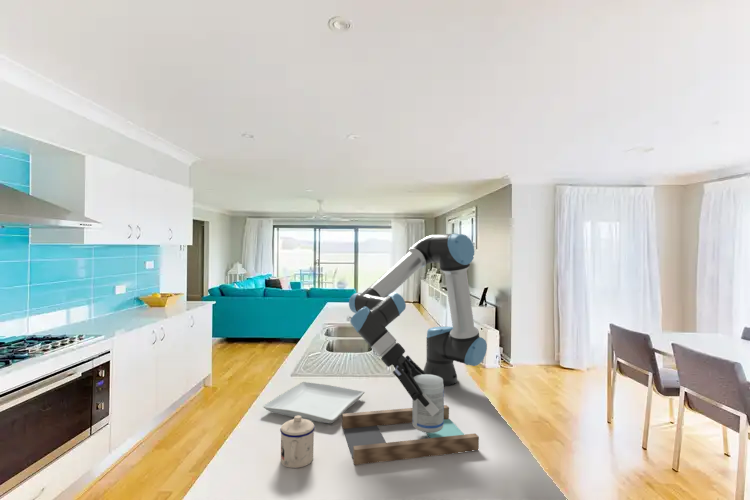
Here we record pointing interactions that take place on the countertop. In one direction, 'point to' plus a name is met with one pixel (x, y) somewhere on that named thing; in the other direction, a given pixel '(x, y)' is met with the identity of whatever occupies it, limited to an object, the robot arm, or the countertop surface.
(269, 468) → the countertop surface
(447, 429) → the pad
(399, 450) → the channel rails
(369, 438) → the trap mat
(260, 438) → the countertop surface
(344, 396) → the square plate
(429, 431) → the supplement tub
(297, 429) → the teacup with lid
